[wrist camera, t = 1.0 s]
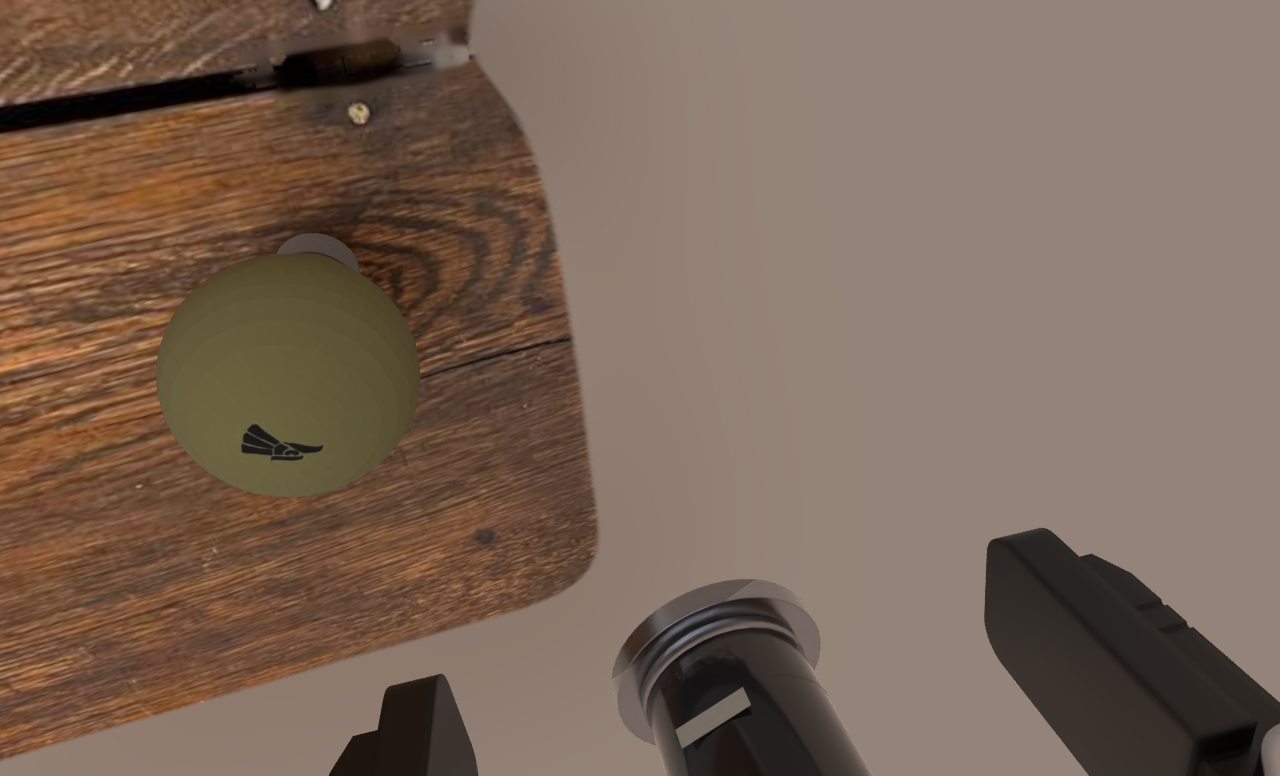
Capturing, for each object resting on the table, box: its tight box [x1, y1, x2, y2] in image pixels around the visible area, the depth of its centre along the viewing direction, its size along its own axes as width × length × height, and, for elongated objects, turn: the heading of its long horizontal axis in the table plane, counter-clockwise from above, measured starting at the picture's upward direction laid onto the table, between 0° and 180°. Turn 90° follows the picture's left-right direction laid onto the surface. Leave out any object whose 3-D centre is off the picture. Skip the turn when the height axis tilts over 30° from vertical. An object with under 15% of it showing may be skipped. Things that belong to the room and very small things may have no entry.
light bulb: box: [156, 233, 420, 497], centre depth 20 cm, size 6×6×10 cm
